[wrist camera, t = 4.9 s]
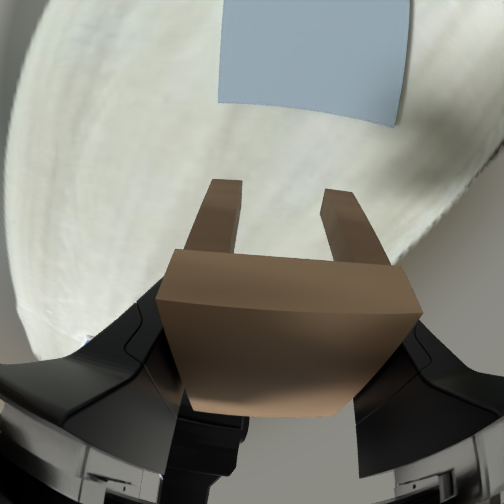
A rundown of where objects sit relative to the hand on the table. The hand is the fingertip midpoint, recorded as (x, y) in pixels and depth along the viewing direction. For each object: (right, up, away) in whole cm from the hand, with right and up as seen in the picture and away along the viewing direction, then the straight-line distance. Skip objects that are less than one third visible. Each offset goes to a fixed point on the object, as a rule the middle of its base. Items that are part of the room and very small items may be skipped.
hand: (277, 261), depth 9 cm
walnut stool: (0, 0, +1) cm, 1 cm away
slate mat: (+3, +13, +2) cm, 14 cm away
